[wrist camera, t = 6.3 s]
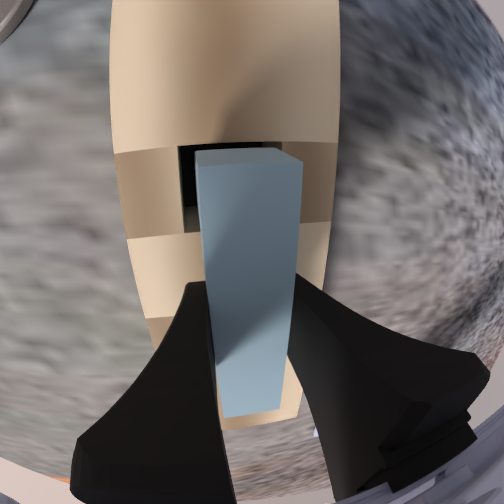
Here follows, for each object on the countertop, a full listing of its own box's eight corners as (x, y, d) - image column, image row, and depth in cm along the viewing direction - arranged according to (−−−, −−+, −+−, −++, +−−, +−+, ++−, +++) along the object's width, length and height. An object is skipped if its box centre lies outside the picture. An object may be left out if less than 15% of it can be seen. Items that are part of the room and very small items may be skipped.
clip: (249, 135, 12) (303, 162, 7) (249, 317, 17) (279, 408, 11) (193, 137, 12) (198, 166, 6) (208, 322, 16) (224, 418, 11)
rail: (307, -15, 9) (335, -37, 6) (285, 386, 21) (296, 416, 19) (131, -16, 8) (118, -44, 5) (183, 401, 20) (185, 433, 17)
